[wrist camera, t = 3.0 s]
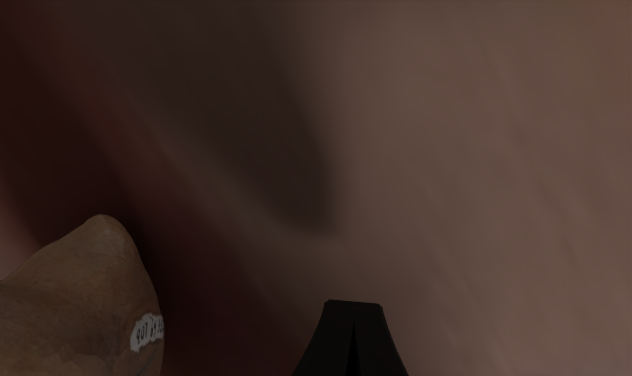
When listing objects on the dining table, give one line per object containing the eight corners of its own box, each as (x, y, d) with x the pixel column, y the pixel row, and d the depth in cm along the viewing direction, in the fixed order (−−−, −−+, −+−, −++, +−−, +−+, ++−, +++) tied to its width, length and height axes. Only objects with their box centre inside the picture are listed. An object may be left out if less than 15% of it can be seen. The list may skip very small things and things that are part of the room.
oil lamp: (13, 108, 14) (-355, 318, 7) (164, 112, 13) (-57, 337, 6) (84, 359, 18) (-98, 651, 11) (199, 367, 18) (90, 671, 11)
